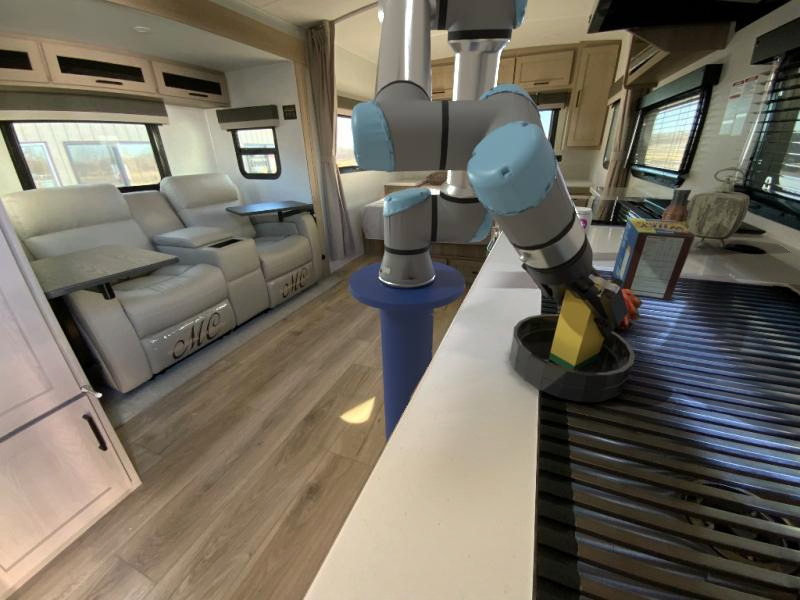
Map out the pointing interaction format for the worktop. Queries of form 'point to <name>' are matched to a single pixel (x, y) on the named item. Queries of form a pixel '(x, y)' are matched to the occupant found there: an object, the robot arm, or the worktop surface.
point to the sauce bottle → (678, 206)
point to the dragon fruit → (630, 309)
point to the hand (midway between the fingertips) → (593, 323)
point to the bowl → (577, 385)
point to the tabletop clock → (717, 211)
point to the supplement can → (585, 217)
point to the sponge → (575, 335)
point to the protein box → (652, 256)
